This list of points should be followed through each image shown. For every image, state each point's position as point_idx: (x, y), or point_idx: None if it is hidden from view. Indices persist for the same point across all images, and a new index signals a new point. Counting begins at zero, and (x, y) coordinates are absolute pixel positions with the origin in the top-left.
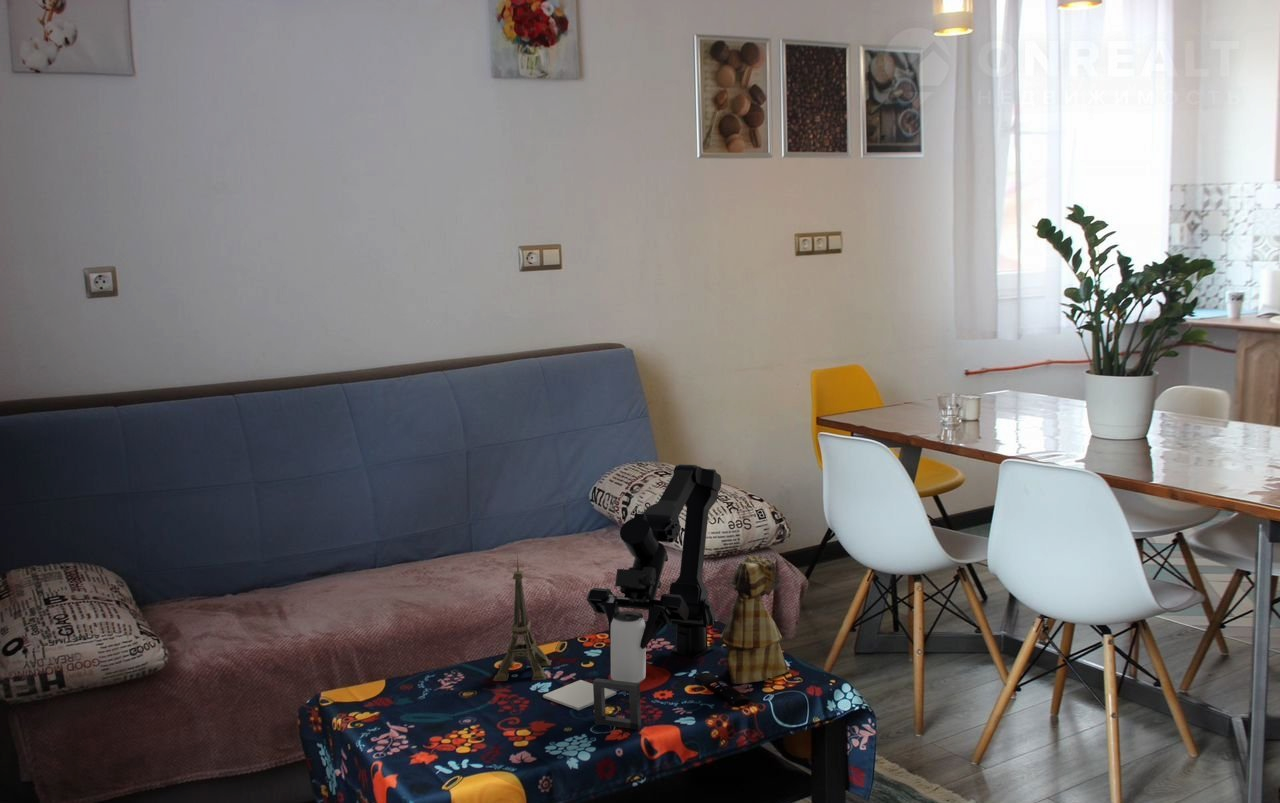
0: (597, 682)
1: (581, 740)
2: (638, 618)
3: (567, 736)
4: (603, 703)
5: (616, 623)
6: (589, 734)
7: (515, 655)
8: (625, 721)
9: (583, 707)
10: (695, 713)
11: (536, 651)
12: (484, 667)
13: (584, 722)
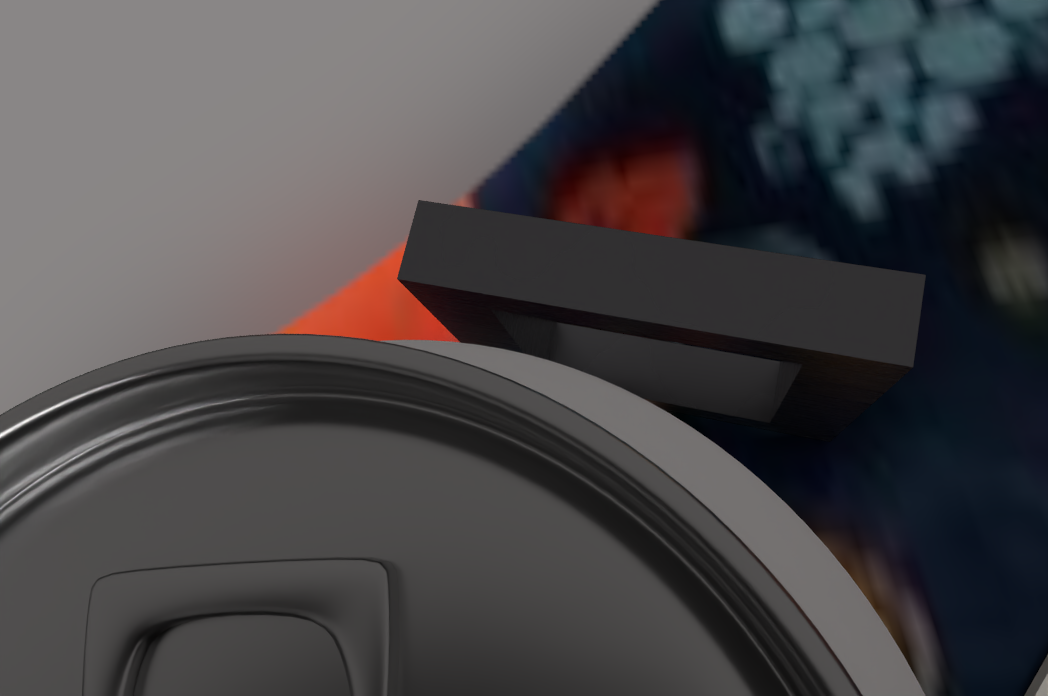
0: (864, 271)
1: (850, 115)
2: None
3: (973, 155)
4: (787, 373)
5: (661, 464)
6: (823, 208)
7: None
8: (595, 344)
9: (1038, 676)
10: None
11: None
12: None
13: (928, 397)
